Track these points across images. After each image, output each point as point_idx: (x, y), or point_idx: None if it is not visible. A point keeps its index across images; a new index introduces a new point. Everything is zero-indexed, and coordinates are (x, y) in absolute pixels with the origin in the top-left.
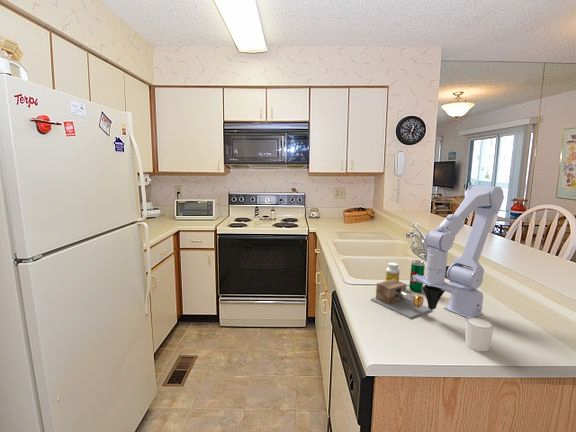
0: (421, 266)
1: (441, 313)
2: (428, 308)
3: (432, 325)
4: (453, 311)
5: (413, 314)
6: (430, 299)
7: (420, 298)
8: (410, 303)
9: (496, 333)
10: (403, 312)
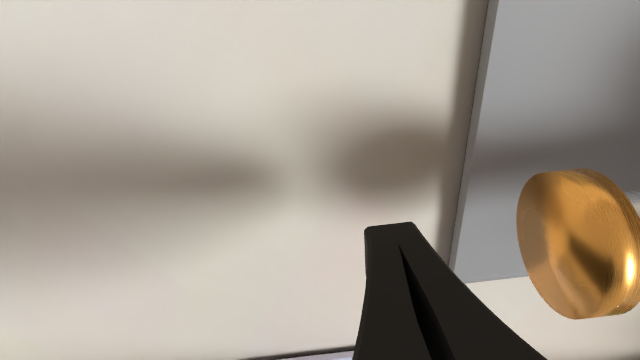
0: None
1: None
2: (475, 270)
3: (269, 86)
4: (349, 354)
5: (508, 75)
6: (430, 325)
7: (578, 280)
8: None
9: (50, 354)
10: (617, 5)
